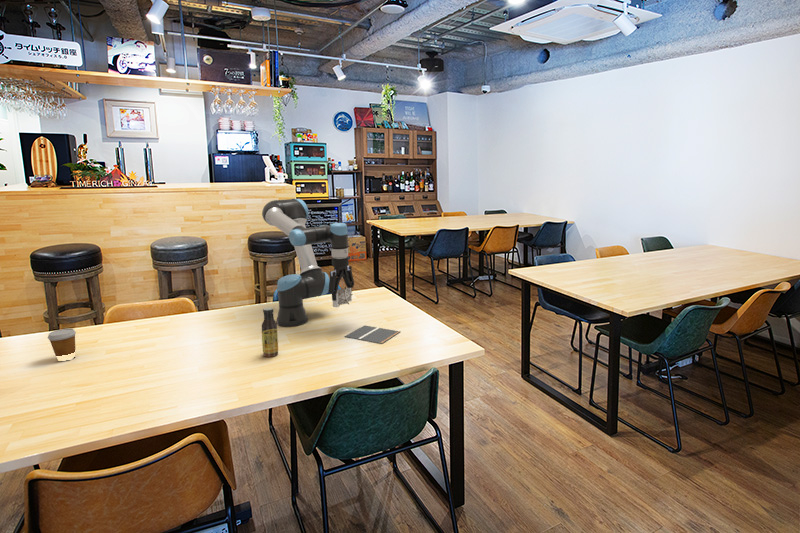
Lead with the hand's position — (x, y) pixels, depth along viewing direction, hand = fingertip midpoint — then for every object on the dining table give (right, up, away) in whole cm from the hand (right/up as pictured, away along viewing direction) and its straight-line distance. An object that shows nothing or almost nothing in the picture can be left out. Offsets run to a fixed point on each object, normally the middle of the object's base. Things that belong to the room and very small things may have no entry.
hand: (342, 303), depth 213 cm
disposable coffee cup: (-113, -22, -22) cm, 117 cm away
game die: (0, -1, 0) cm, 1 cm away
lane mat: (+15, -14, -6) cm, 21 cm away
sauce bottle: (-26, -19, -25) cm, 41 cm away
